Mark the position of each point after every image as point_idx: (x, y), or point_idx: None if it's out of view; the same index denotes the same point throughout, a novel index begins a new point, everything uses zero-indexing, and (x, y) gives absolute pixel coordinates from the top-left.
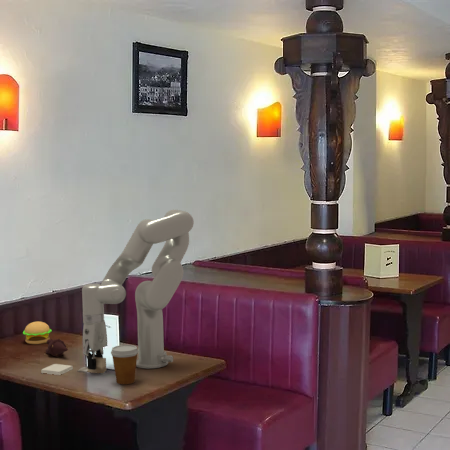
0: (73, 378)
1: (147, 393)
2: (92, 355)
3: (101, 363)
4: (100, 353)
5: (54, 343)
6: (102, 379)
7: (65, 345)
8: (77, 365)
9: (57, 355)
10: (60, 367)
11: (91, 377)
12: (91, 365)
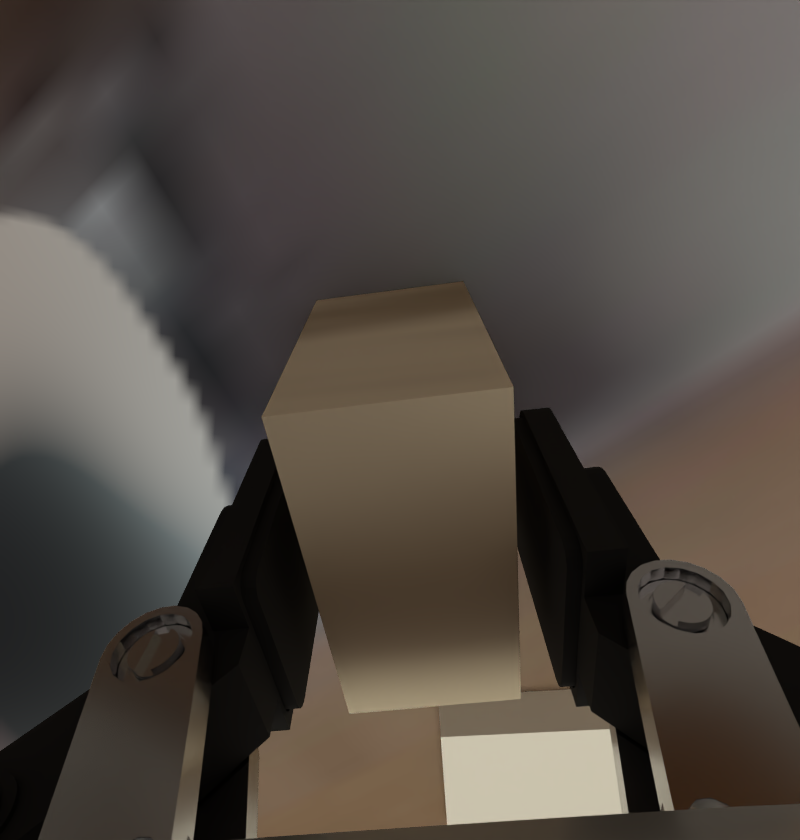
0: (789, 511)
1: None
2: (767, 677)
3: (497, 359)
4: (215, 668)
5: None
6: None
7: None
8: (299, 725)
9: None
10: (544, 783)
11: (710, 317)
12: (611, 498)
